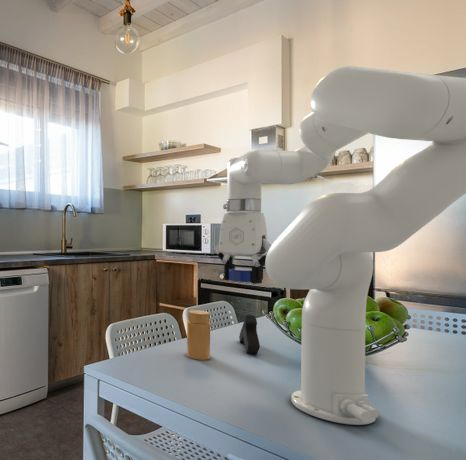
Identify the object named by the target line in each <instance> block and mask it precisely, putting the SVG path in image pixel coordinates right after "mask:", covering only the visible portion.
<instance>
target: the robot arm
mask: <svg viewBox="0 0 466 460" xmlns="http://www.w3.org/2000/svg"><path fill="white" fill-rule="evenodd" d="M309 105H310V110H311V112H310V113H308V114H307V115H306V116H304V118H303V119H302V120H301V121H300V124H299V127H298V129H299V130H298V132H299V138H300V140H301V142H302V143H303V145H301V146H300V147H299V148H297V149H294V150H283V149H258V148H257V149H252V150H250V151H247V152H246V153H244V154H243V155H239V156H234V157H232V158H230V159H229V160H228V162H227V167H226V168H227V171H226V172H227V174H226V175H227V178H226V203H224V204H223V205H222V208H223V210H226V213H223V215H222V219H221V224H220V231H219V238H218V239H219V241H218V243H217V244H216V245H215V246H214V247H213V251H214V252H215V254H216V255H217V257H218V258H219V259H220V260H221V263H222V264H224V266H223V270H224V271H223V275H224V276H223V277H224V280H225V281H230V280H229V268H236V265H235V263H234V260H235V258H236V256H237V255H245V256H250V257H251V260H252V263H253V266H252V267H251V269H252V282H251V284H252V285H257V284H262V283H263V280H264V268H265V271H266V274H267V276H268V278H269V279H270V281H272V282H273V283H274V284H276V286H279V287H281V288H283V289H287V290H308V292H307V294H306V297H305V299H304V301H303V304H302V310H301V337H300V338H301V339H300V340H301V342H300V343H301V344H300V345H301V348H300V349H301V350H300V351H301V352H300V353H301V354H300V355H301V357H300V365H301V366H300V390H296V391H294V392H292V394H291V396H290V398H291V399H290V400H291V401H290V402H291V404H293V406H294V407H295V408H297V409H298V410H299V411H301V412H303V413H306V414H307V415H310V416H313V417H315V418H318V419H321V420H325V421H328V422H333V423H336V424H337V423H338V424H343V425H351V426H353V425H354V426H365V425H370V424H372V423H374V422H375V421H376V419H377V418H379V417H380V410H378V409H376V408H374V407H372V406H371V405H369V404H370V396H369V394H366V325H367V324H366V322H367V321H366V317H367V301H368V294H369V289H370V286H371V283H372V277H373V274H374V260H373V256H372V254H371V253H384V252H389V251H392V250H394V249H396V248H397V247H399V246H401V245H402V244H404V243H405V242H406V241H408V240H409V239H410V238H411V237H412V236H413V235H415V234H416V233H417V232H419V231H420V230H421V229H422V228H424V227H425V226H426V225H428V224H429V223H430V222H431V221H433V220H434V219H436V217H438V216H440V215H441V214H442V213H443V212H444V211H446V210H447V209H448V208H449V207H451V205H452V204H454V203H455V202H457V201H458V200H459V199H460V198H462V197H463V196H464V195H466V77H460V76H459V77H458V76H449V75H441V74H440V75H439V74H431V73H419V72H407V71H394V70H389V69H383V68H372V67H363V66H355V65H354V66H353V65H352V66H351V65H347V66H342V67H338V68H336V69H333V70H332V71H330V72H328V73H327V74H325V75H324V76H323V77H322V78H321V79H320V80H319V81H318V82H317V83H316V85H315V87H314V88H313V90H312V92H311V95H310V100H309ZM368 134H371V135H374V136H378V137H383V138H390V139H397V140H407V141H408V140H409V141H421V142H422V141H424V142H431V144H429V145H428V146H427V147H425V148H424V149H422V150H420V151H419V152H417V153H415V154H413V155H411V156H410V157H408V158H406V159H405V160H403V161H401V162H400V163H399V164H398V165H396V166H395V167H393V168H392V170H390V172H388V174H386V176H385V177H384V178H383V179H381V180H380V181H379V182H378V183H376V185H375V186H373V187H372V188H370V189H369V190H367V191H363V192H333V193H328V194H324V195H322V196H319V197H317V198H316V199H314V200H312V201H311V202H309V203H308V204H307V205H306V206H305V207H304V208H303V209H301V211H299V213H297V215H296V216H295V217H294V218H293V220H292V221H291V222H290V223H289V224H288V225H287V226H286V227H285V228H284V229H283V231H282V232H281V233H280V234H279V235H278V236H277V237H276V238H275V239H274V241H272V243H270V242H269V241H268V230H267V223H266V217H265V213H264V212H262V184H264V185H268V184H269V185H270V184H271V185H273V184H275V185H295V184H298V183H301V182H303V181H306V180H308V179H311V178H312V177H314V176H317V175H318V174H320V173H322V171H324V170H326V169H327V168H328V166H329V165H330V164H331V163H332V161H333V160H334V157H336V156H335V155H336V152H337V151H338V150H340V149H343V148H344V147H346V146H348V145H349V144H352V143H353V142H355V141H357V140H359V139H360V138H362V137H364V136H366V135H368Z"/></svg>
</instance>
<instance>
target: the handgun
mask: <svg viewBox="0 0 466 460" xmlns="http://www.w3.org/2000/svg"><path fill="white" fill-rule="evenodd" d="M257 326H258V322H257V318H256V316H255V315H253V314H251V313H249V314H246V315H245V317H244V320H243V323H242V326H241V329H240V331H239V336H238V339H239V344H244V349H245V354H247V355H258V353H259V352H260V351H259V350H260V348H261V345H260V340H259V336H258V330H257V329H258V327H257Z"/></svg>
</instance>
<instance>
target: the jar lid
mask: <svg viewBox="0 0 466 460" xmlns="http://www.w3.org/2000/svg"><path fill="white" fill-rule="evenodd" d="M228 281H229V282H230V281H231V282H238V283H252V268H246V267H245V268H244V267H235V268H229V280H228Z"/></svg>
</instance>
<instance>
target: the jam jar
mask: <svg viewBox="0 0 466 460" xmlns="http://www.w3.org/2000/svg"><path fill="white" fill-rule="evenodd" d="M187 314H188V320H187V323H186V326H187V327H186V328H187V329H186V330H187V331H186V356H187V357H188V358H190V359H193V360H197V361H198V360H199V361H207V360H210V358H211V322H210V315H211V314H210V312H208V311H205V310H199V309H198V310H196V309H194V310H189V311H188V313H187Z"/></svg>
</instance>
